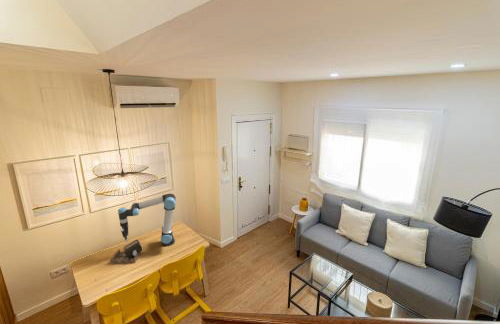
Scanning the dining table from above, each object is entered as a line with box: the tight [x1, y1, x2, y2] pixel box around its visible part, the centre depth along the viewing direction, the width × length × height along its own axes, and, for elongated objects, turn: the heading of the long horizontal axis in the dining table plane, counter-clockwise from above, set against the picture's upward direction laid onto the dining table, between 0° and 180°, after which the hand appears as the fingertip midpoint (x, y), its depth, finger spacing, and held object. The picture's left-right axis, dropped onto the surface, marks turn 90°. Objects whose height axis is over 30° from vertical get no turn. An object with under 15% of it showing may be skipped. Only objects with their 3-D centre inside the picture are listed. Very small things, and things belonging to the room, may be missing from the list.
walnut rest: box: [110, 249, 142, 265], centre depth 262 cm, size 24×18×5 cm
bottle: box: [123, 239, 143, 258], centre depth 265 cm, size 8×16×25 cm
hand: (126, 241), depth 263 cm, fingers closed
